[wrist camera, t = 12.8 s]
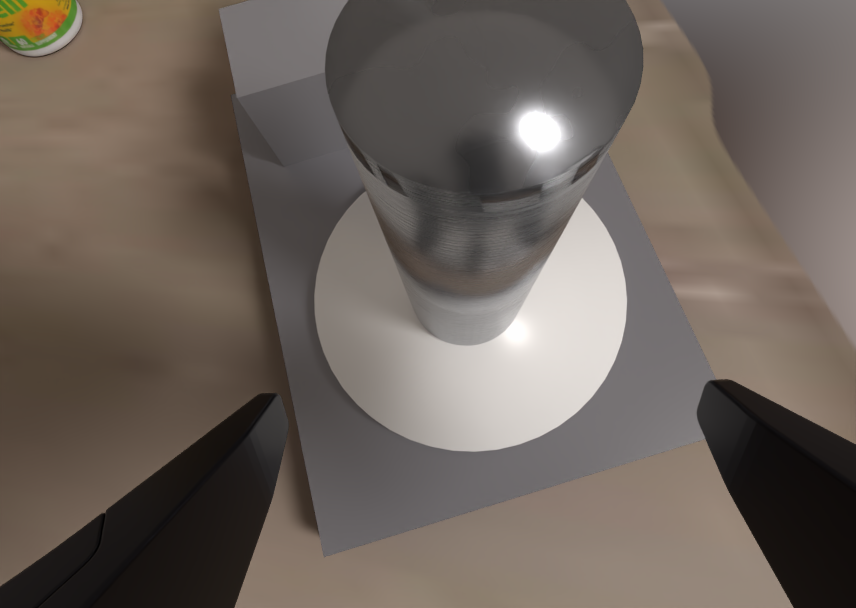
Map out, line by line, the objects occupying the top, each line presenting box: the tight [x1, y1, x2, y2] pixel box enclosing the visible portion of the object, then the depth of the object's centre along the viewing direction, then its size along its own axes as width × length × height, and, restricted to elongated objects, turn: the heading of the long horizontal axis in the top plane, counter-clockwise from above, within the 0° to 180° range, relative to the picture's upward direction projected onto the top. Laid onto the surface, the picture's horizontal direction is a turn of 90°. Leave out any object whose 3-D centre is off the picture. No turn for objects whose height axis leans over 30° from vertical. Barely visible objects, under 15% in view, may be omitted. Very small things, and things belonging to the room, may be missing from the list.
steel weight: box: [325, 0, 643, 346], centre depth 13 cm, size 5×5×13 cm
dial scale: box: [219, 0, 716, 557], centre depth 18 cm, size 24×18×11 cm
